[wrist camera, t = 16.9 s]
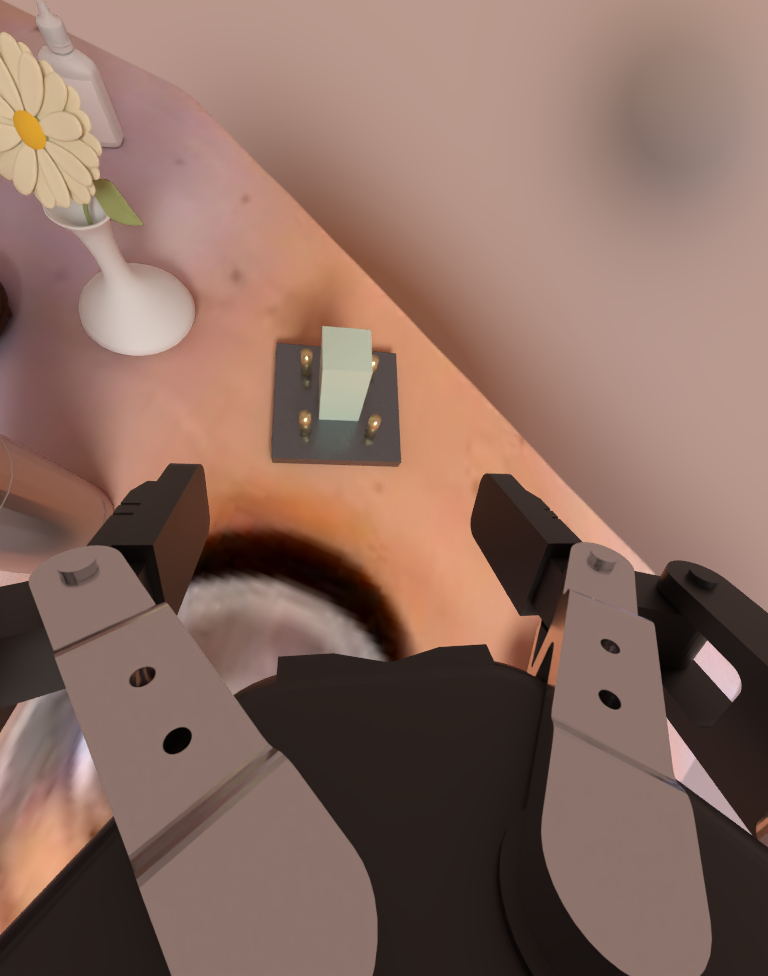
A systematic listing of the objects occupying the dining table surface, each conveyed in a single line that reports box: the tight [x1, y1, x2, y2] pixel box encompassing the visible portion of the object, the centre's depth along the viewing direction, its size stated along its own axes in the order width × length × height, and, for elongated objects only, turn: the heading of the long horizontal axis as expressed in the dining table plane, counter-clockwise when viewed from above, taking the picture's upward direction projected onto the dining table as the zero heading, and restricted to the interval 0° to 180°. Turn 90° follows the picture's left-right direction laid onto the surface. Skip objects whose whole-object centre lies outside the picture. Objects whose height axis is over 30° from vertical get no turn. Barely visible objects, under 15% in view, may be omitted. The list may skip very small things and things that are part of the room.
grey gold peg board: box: [271, 343, 401, 467], centre depth 43 cm, size 14×14×5 cm
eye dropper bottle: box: [35, 0, 124, 148], centre depth 44 cm, size 4×6×12 cm
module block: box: [319, 326, 373, 421], centre depth 40 cm, size 4×4×10 cm
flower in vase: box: [0, 32, 195, 356], centre depth 32 cm, size 13×11×25 cm
